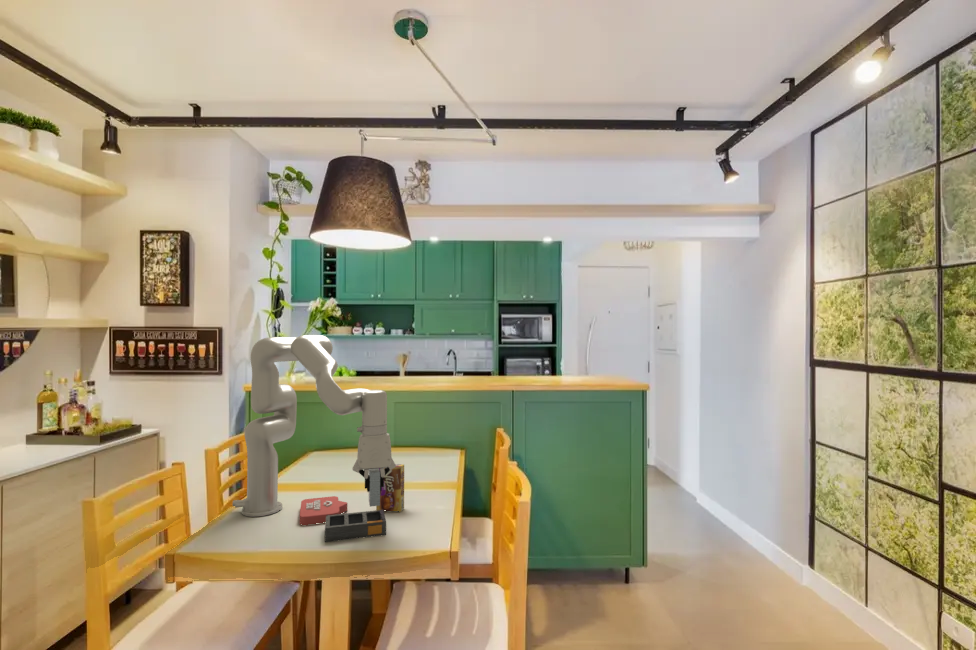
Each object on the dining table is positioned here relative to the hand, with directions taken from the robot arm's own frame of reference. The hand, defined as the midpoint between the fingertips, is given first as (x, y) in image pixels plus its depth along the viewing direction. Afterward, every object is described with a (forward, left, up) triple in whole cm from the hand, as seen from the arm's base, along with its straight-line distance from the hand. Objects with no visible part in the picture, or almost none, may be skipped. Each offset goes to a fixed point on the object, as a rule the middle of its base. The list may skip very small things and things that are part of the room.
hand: (374, 489), depth 148 cm
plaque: (-15, +19, -13) cm, 27 cm away
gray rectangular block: (0, 0, -4) cm, 4 cm away
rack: (-6, 0, -12) cm, 13 cm away
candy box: (+6, +16, -12) cm, 21 cm away
